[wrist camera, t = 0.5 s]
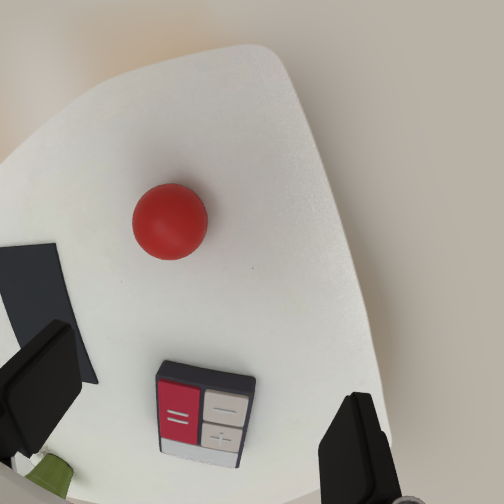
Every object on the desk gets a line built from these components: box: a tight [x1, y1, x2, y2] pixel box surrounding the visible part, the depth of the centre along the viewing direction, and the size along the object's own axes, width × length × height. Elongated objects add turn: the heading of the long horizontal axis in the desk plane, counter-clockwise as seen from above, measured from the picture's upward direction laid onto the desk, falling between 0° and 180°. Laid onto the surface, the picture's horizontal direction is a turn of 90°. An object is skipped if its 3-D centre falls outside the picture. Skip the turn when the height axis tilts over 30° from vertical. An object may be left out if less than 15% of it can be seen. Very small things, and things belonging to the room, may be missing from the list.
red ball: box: [132, 184, 208, 260], centre depth 26 cm, size 6×6×6 cm
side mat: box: [0, 243, 99, 384], centre depth 35 cm, size 20×14×1 cm
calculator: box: [156, 361, 256, 468], centre depth 35 cm, size 11×4×15 cm
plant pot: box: [24, 454, 73, 499], centre depth 44 cm, size 12×12×11 cm
